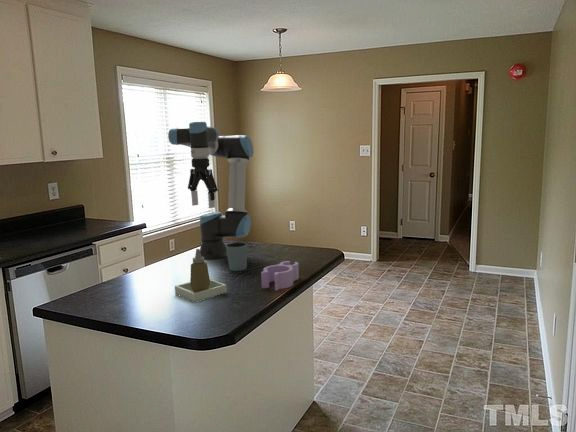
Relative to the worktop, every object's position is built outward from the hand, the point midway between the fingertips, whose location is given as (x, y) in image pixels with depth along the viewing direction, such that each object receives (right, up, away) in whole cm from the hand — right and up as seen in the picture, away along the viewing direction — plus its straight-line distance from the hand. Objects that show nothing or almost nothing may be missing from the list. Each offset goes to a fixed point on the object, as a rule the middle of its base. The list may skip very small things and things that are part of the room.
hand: (203, 206), depth 204 cm
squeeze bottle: (+2, -35, -15) cm, 39 cm away
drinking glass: (+13, -30, +19) cm, 38 cm away
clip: (+35, -33, -5) cm, 48 cm away
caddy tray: (+2, -36, -15) cm, 39 cm away
